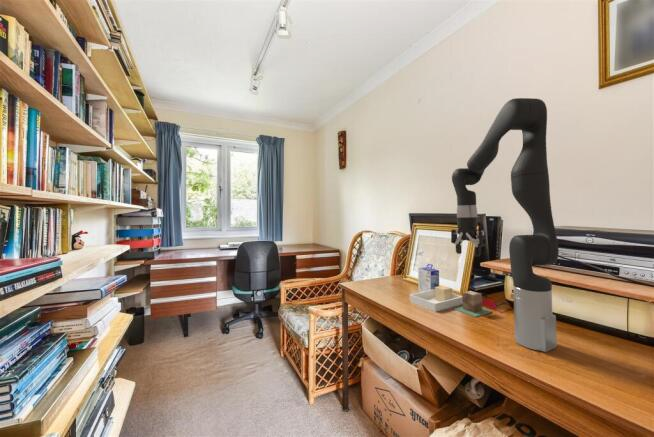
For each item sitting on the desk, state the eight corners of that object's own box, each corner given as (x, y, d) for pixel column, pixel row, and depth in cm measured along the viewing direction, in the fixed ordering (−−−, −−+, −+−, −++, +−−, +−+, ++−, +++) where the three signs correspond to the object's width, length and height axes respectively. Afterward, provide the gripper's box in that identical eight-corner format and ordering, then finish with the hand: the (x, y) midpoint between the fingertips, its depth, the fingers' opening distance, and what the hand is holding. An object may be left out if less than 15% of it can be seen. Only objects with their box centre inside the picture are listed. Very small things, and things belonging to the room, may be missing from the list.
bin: (462, 304, 115) (462, 296, 115) (435, 312, 108) (434, 303, 107) (436, 295, 128) (435, 288, 128) (409, 302, 121) (409, 294, 121)
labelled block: (482, 310, 106) (481, 293, 106) (474, 312, 104) (473, 295, 104) (470, 306, 110) (470, 290, 110) (462, 309, 108) (462, 292, 108)
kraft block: (452, 301, 119) (451, 288, 118) (444, 303, 116) (443, 289, 116) (443, 298, 123) (442, 285, 123) (435, 300, 121) (434, 287, 121)
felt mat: (492, 312, 105) (492, 311, 105) (475, 317, 101) (475, 316, 100) (469, 305, 114) (469, 303, 114) (453, 309, 110) (452, 308, 110)
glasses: (463, 303, 118) (463, 292, 117) (485, 296, 125) (485, 286, 125) (495, 313, 105) (495, 300, 105) (518, 304, 113) (517, 293, 113)
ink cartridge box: (440, 294, 129) (439, 265, 129) (431, 296, 127) (430, 266, 127) (426, 289, 138) (425, 262, 138) (418, 291, 137) (417, 263, 136)
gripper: (489, 215, 105) (490, 256, 105) (458, 215, 118) (459, 251, 118) (477, 216, 102) (478, 258, 102) (446, 216, 115) (447, 253, 115)
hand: (468, 254), depth 110 cm, fingers open, 8 cm apart
